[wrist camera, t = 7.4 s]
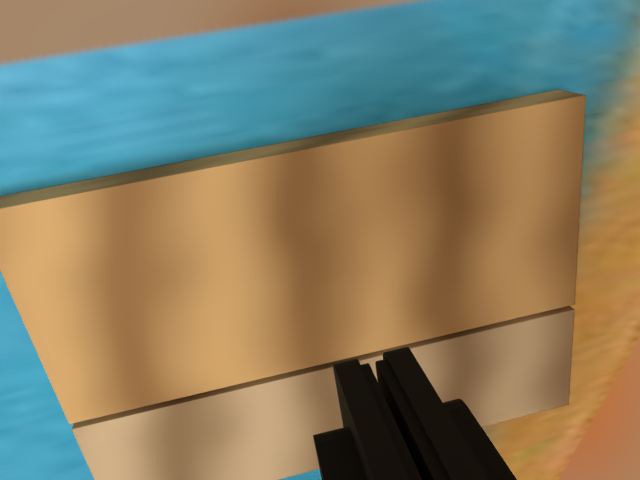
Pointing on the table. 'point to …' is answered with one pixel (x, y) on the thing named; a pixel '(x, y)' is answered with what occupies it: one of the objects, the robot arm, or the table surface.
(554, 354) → the ash board
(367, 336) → the oak plank
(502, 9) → the table surface
